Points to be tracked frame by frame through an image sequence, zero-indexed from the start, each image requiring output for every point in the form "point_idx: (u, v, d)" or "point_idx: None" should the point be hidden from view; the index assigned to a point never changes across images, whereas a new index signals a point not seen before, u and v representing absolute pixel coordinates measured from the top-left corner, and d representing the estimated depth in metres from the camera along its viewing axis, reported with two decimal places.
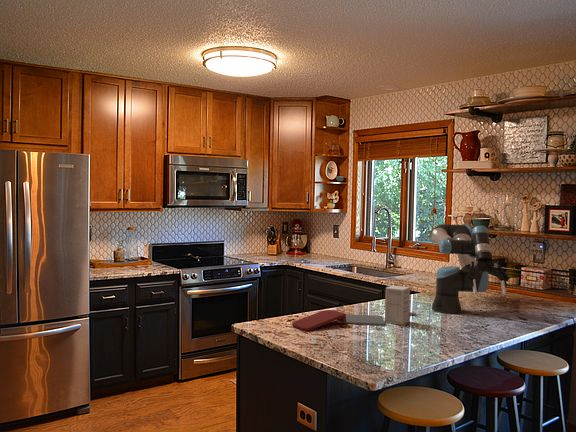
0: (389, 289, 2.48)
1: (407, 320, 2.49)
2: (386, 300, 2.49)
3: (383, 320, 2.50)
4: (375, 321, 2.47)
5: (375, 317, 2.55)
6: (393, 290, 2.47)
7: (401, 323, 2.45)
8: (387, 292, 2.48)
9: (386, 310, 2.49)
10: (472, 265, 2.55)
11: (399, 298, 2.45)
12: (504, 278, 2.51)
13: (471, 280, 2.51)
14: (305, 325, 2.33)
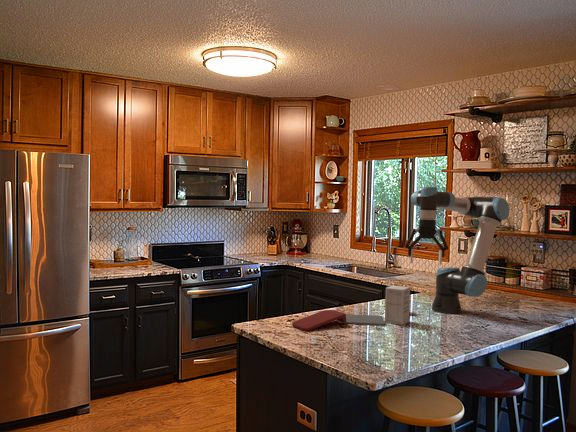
0: (389, 289, 2.48)
1: (407, 320, 2.49)
2: (386, 300, 2.49)
3: (383, 320, 2.50)
4: (375, 321, 2.47)
5: (375, 317, 2.55)
6: (393, 290, 2.47)
7: (401, 323, 2.45)
8: (387, 292, 2.48)
9: (386, 310, 2.49)
10: (413, 233, 2.47)
11: (399, 298, 2.45)
12: (443, 248, 2.46)
13: (409, 250, 2.48)
14: (305, 325, 2.33)
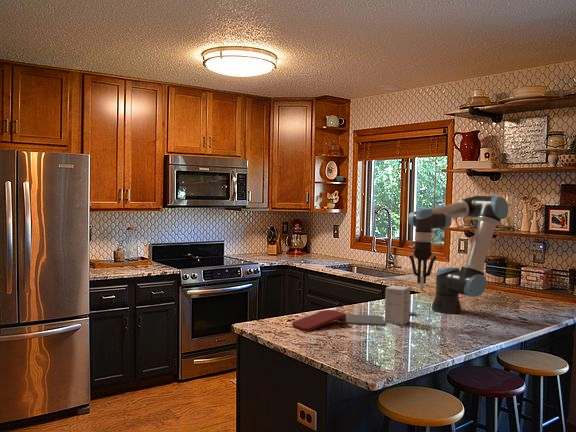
0: (389, 289, 2.48)
1: (407, 320, 2.49)
2: (386, 300, 2.49)
3: (383, 320, 2.50)
4: (375, 321, 2.47)
5: (375, 317, 2.55)
6: (393, 290, 2.47)
7: (401, 323, 2.45)
8: (387, 292, 2.48)
9: (386, 310, 2.49)
10: (412, 259, 2.48)
11: (399, 298, 2.45)
12: (425, 275, 2.48)
13: (418, 277, 2.48)
14: (305, 325, 2.33)
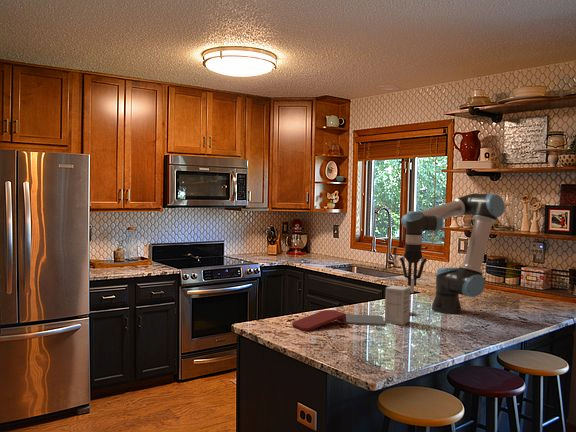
0: (389, 289, 2.48)
1: (407, 320, 2.49)
2: (386, 300, 2.49)
3: (383, 320, 2.50)
4: (375, 321, 2.47)
5: (375, 317, 2.55)
6: (393, 290, 2.47)
7: (401, 323, 2.45)
8: (387, 292, 2.48)
9: (386, 310, 2.49)
10: (402, 262, 2.48)
11: (399, 298, 2.45)
12: (415, 277, 2.48)
13: (409, 280, 2.49)
14: (305, 325, 2.33)
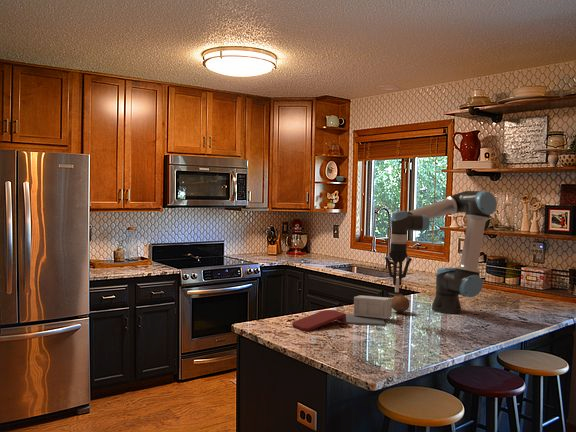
0: (354, 311, 2.57)
1: (387, 298, 2.55)
2: (365, 315, 2.54)
3: (383, 320, 2.50)
4: (375, 321, 2.47)
5: None
6: (355, 307, 2.57)
7: (385, 301, 2.50)
8: (357, 313, 2.56)
9: (374, 316, 2.52)
10: (387, 261, 2.49)
11: (361, 301, 2.55)
12: (400, 276, 2.49)
13: (394, 279, 2.49)
14: (305, 325, 2.33)
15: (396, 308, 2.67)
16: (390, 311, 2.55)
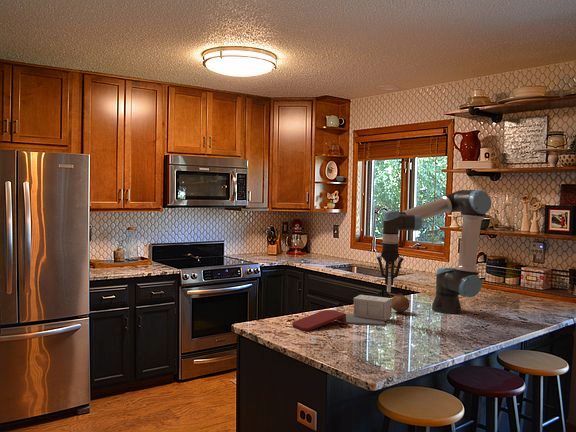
0: (354, 312, 2.57)
1: (387, 298, 2.54)
2: (364, 316, 2.54)
3: (383, 320, 2.50)
4: (375, 321, 2.47)
5: None
6: (354, 308, 2.57)
7: (384, 303, 2.49)
8: (357, 314, 2.56)
9: (374, 317, 2.52)
10: (379, 261, 2.49)
11: (361, 302, 2.55)
12: (392, 276, 2.49)
13: (386, 279, 2.50)
14: (305, 325, 2.33)
15: (396, 308, 2.67)
16: (390, 312, 2.55)
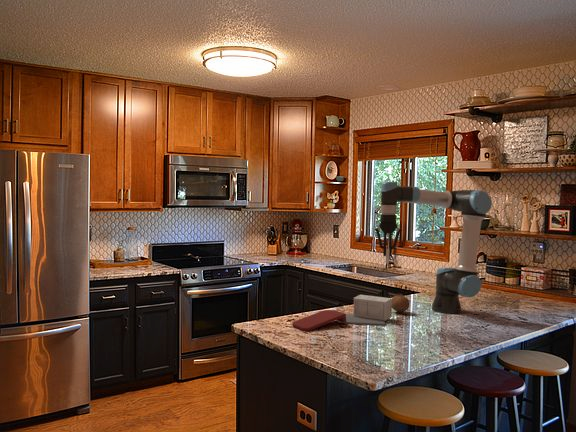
0: (354, 312, 2.57)
1: (387, 299, 2.54)
2: (364, 316, 2.54)
3: (383, 320, 2.50)
4: (375, 321, 2.47)
5: None
6: (354, 308, 2.57)
7: (384, 303, 2.49)
8: (357, 314, 2.56)
9: (374, 317, 2.52)
10: (377, 232, 2.49)
11: (361, 302, 2.55)
12: (391, 247, 2.49)
13: (384, 250, 2.49)
14: (305, 325, 2.33)
15: (396, 308, 2.67)
16: (390, 312, 2.55)
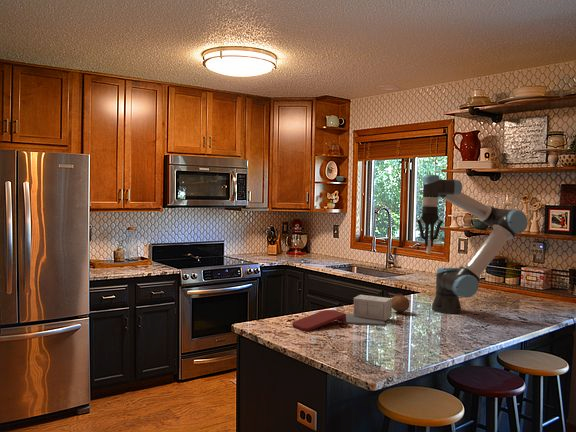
0: (354, 312, 2.57)
1: (387, 299, 2.54)
2: (364, 316, 2.54)
3: (383, 320, 2.50)
4: (375, 321, 2.47)
5: None
6: (354, 308, 2.57)
7: (384, 303, 2.49)
8: (357, 314, 2.56)
9: (374, 317, 2.52)
10: (420, 224, 2.59)
11: (361, 302, 2.55)
12: (432, 238, 2.58)
13: (426, 241, 2.59)
14: (305, 325, 2.33)
15: (396, 308, 2.67)
16: (390, 312, 2.55)
